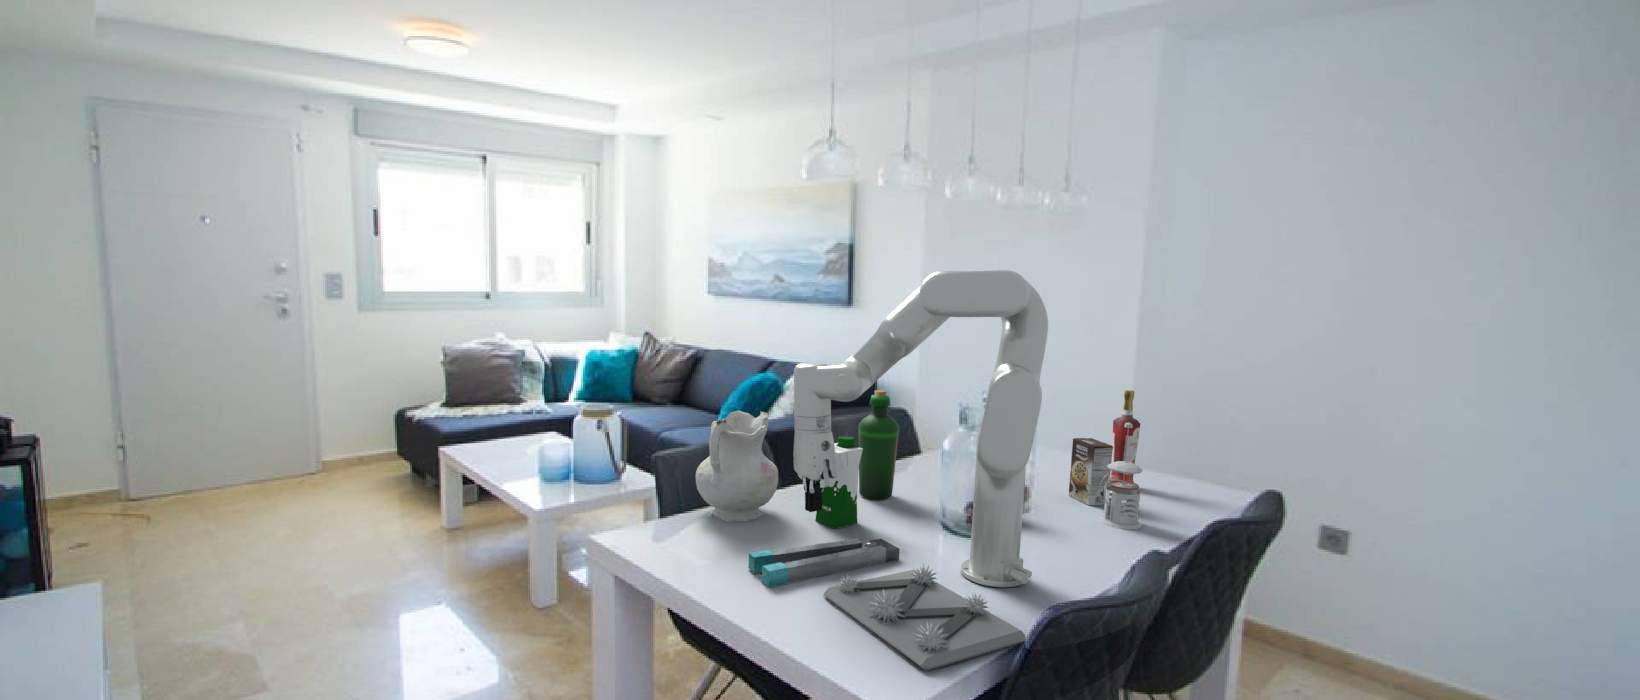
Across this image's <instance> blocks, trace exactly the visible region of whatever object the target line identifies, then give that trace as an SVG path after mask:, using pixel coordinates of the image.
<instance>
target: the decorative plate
mask: <svg viewBox="0 0 1640 700" xmlns="http://www.w3.org/2000/svg"><path fill="white" fill-rule="evenodd" d="M914 566H915V567H914V568H915V569H914V568H912V569H910V570H905V571H900V572H896V573H892V574H885V575H882V576H877V577H871V578H868V579H863V580H859V581H858V579H859V578H855V577H856V574H854V576H853V577H852V578H851V574H849V575H846V578H845V577H844V576H842V577H839V579H840V581H837V584H838V585H834V586H833V585H832V586H829V587H828V588H827V589H826V590H825V591H824V593H823V596H824V597H825V598H827V599H828V600H829V601H831V602H832V603H833V604H834V605H836V606H837V607H838V608H839V609H841V610H842V611H844V612H845V613H847V614H848V615H849V616H850V617H852V618H853V619H855V620H856V621H857V622H859V623H860V624H862V625H863V626H864V627H865V628H867V629H868V630H870V631H871V632H872V633H873V634H875V635H876V636H878V637H879V638H881V639H882V640H883V641H885V642H886V643H887V644H888V645H890V646H892V648H894V649H895V650H897V651H898V652H899V653H900V654H902V655H903V656H904V657H905V658H907V659H908V660H909V661H911V662H913V663H914V664H916V665H917V666H918V667H919V668H921V669H923V670H924V671H925V672H928V671H932V670H936V669H939V668H943V667H946V666H949V665H952V664H956V663H960V662H962V661H966V660H968V659H972V658H975V657H979V656H981V655H985V654H989V653H992V652H996V651H998V650H999V651H1000V650H1002V649H1005V648H1009V647H1012V646H1016V645H1019V644H1022V643H1023V642H1025V641H1026V634H1025V632H1023V631H1022V630H1021V629H1020V628H1018V627H1016V626H1015V625H1012V624H1011V623H1009V622H1007V621H1006V620H1003V619H1002V618H1000V617H999V616H996V615H995V614H993V613H991V612H990V611H988V610H987V609H988V608H990V607H989V606H987V605H986V604H987V603H988V601H984V600H985V598H986V597H984V596H983V597H982V594H979V596H978V597H977V594H974V593H973V592H971V597H970V595H967V597H963V596H962V595H960V594H958V593H957V592H955V591H953V590H951V589H949V588H948V587H946V586H944V585H942V584H941V583H939V582H937V581H935V580H937V577H934V576H935V575H936V574H937V572H933V570H934V568H931V569H929V568H930V565H928V566H927V567H926V568H925V563H923V564H922V565H921V563H919V568H918V567H917V566H916V565H914ZM932 572H933V573H932ZM981 597H982V598H981Z"/></svg>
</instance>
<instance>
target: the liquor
mask: <svg viewBox="0 0 1640 700" xmlns="http://www.w3.org/2000/svg"><path fill="white" fill-rule="evenodd" d="M1123 392H1124V393H1123V397H1124V398H1123V399H1124V401H1123V407H1122V413H1121V416H1119V417H1116V418H1115V419H1113V420H1112V446H1113V451H1112V462H1111V463H1113V462H1117V461H1125V455H1126V444H1127V455H1126V461H1127V462H1131V463H1133V464H1135V465H1136V460H1137V459H1136V458H1137V451H1138V444H1139V437H1140V430H1141V422H1140V421H1138V420H1137V419H1136V418H1134V409H1133V407H1134V406H1133V404H1134V402H1133V401H1134V398H1135V390H1132V389H1125V390H1124V391H1123ZM1126 423H1131V424H1132V425H1133V428H1129V432H1128V428H1126V427H1124V425H1125V424H1126ZM1127 432H1128V443H1127ZM1134 475H1135V474H1127V473H1125V477H1124V473H1119V472H1115V471H1112V470H1111V472H1110V477H1111V476H1115V480H1120V481H1121V480H1123V479H1124V481H1127V482H1128V481H1129V482H1131V483H1135V482H1134ZM1110 479H1112V480H1114V477H1112V478H1110Z"/></svg>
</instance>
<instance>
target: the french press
mask: <svg viewBox="0 0 1640 700" xmlns="http://www.w3.org/2000/svg"><path fill="white" fill-rule="evenodd" d="M1124 427H1126V428H1128V432H1129V428H1133V425H1132V424H1131V423H1126V424H1125V425H1124ZM1128 432H1127V443H1128ZM1126 455H1127V444H1126ZM1126 455H1125V461H1117V462H1113V463H1112V462H1111V464H1109V465H1108V466H1107V467H1108V469H1110V470H1112V471H1115V472H1119V473H1124V477H1125V473H1127V474H1134V475H1136V474H1137V475H1138V474H1141V473H1142V472H1143V471H1144V470H1143V469H1142V468H1141V466H1139V465H1137V464H1136V463H1135V464H1133V463H1131V462H1127V461H1126ZM1107 475H1109V479H1110V478H1112V477H1114V480H1112V479H1110V481H1109V479H1108V481H1109V482H1108V481H1107V482H1108V484H1109V486H1108V487H1107V488H1106V496H1105V487H1106V485H1107V482H1106V484H1105V487H1104V498H1105V501H1103V500H1102V499H1101V495H1100V486H1101V483H1102V481H1103V479H1104V478H1105V477H1106V476H1107ZM1107 475H1105V476H1104V477H1103V479H1102V480H1101V483H1100V485H1099V496H1100V499H1101V500H1102V501H1103V502H1105V505H1104V506H1103V507H1104V511H1103V515H1102V516H1101V517H1100V518H1099V522H1100V523H1102V524H1103V525H1105V526H1108V527H1111V528H1116V529H1122V530H1137V529H1140V528H1141V527H1142V523H1140V521H1139V519H1138V517H1139V508H1140V501H1141V492H1140V491H1139V490H1138V489H1139V488H1140V486H1139V484H1137V483H1135V482H1134V483H1131V482H1129V481H1128V482H1127V481H1124V479H1123V480H1121V481H1120V480H1115V476H1111V473H1110V474H1107ZM1111 491H1112V492H1111ZM1122 501H1124V502H1122ZM1125 501H1126V502H1125ZM1109 506H1110V507H1109ZM1122 506H1125V507H1122ZM1123 511H1125V512H1123Z"/></svg>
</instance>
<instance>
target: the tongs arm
mask: <svg viewBox="0 0 1640 700" xmlns="http://www.w3.org/2000/svg"><path fill="white" fill-rule="evenodd" d="M863 544H864V547H868V548H872V547H877V543H876V542H874V541H871V540H866V541H865V542H863V541H862V540H859V539H858V538H853V539H847V540H845V539H844V540H838V541H832V542H831V541H829V542H823V543H822V542H821V543H817V544H808V545H801V546H794V547H787V548H781V549H780V548H779V549H772V550H769V549H763V550H756V551H749V552H748V565H747V566H748V567H747V568H748V570H750V572H752V574H758V573H759V574H760V573H762V566H764V565H769V564H774V563H780V562H781V563H787V562H792V561H797V560H802V559H808V558H813V557H818V556H823V555H828V554H833V553H838V552H843V551H849V550H854V549H859V548H864V547H863Z"/></svg>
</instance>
